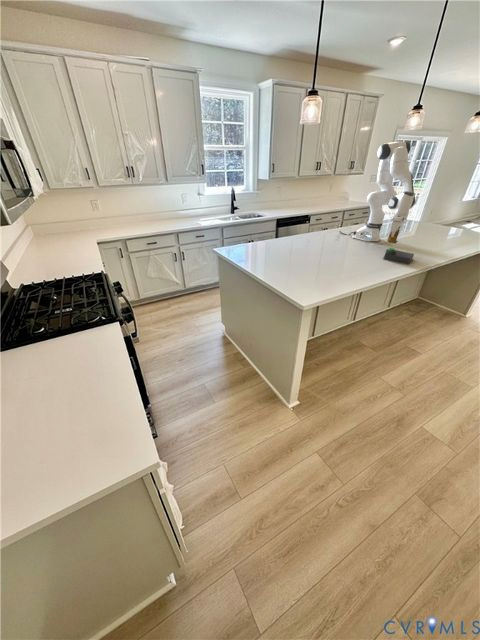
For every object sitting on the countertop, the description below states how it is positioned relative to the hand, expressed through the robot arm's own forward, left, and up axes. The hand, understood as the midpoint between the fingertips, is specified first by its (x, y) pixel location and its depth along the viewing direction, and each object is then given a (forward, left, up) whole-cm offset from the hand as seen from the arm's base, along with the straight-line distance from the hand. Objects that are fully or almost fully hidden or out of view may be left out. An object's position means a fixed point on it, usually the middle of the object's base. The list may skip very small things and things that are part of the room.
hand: (393, 235), depth 195 cm
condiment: (0, +1, -5) cm, 5 cm away
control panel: (+10, -15, -12) cm, 22 cm away
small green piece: (+5, -18, -6) cm, 20 cm away
